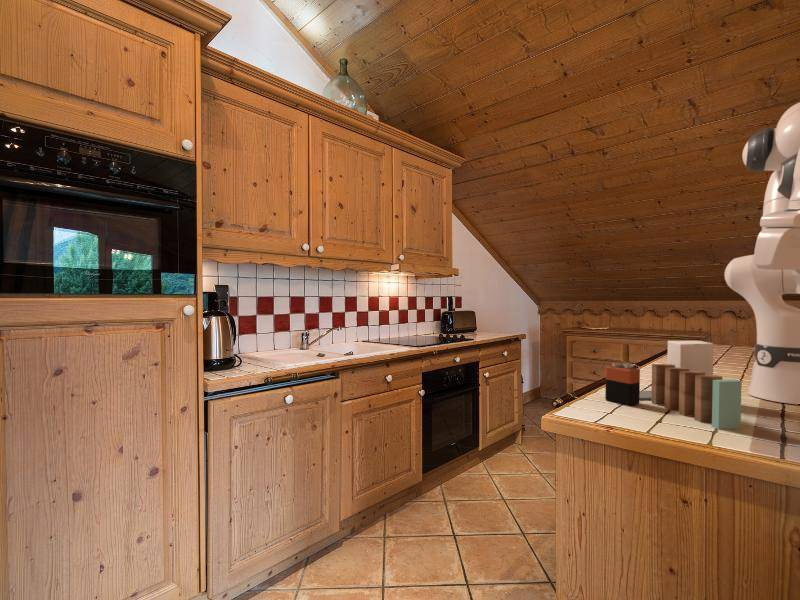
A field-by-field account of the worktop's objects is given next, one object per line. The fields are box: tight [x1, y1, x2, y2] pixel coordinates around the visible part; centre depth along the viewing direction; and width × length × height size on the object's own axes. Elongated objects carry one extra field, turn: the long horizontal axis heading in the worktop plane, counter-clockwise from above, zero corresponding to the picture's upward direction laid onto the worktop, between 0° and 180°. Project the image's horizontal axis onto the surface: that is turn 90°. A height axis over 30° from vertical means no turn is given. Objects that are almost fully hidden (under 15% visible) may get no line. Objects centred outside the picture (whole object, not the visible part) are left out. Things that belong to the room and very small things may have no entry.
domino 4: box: [693, 374, 723, 423], centre depth 89 cm, size 5×2×10 cm, turn 95°
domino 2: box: [664, 367, 689, 411], centre depth 98 cm, size 5×2×10 cm, turn 95°
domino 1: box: [650, 363, 675, 405], centre depth 103 cm, size 5×2×10 cm, turn 95°
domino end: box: [711, 379, 742, 430], centre depth 85 cm, size 5×2×10 cm, turn 95°
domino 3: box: [678, 371, 705, 417], centre depth 94 cm, size 5×2×10 cm, turn 95°
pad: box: [639, 390, 652, 401], centre depth 110 cm, size 9×7×1 cm
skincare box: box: [666, 340, 715, 375], centre depth 105 cm, size 8×7×16 cm
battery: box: [604, 362, 641, 407], centre depth 104 cm, size 4×7×10 cm, turn 32°
